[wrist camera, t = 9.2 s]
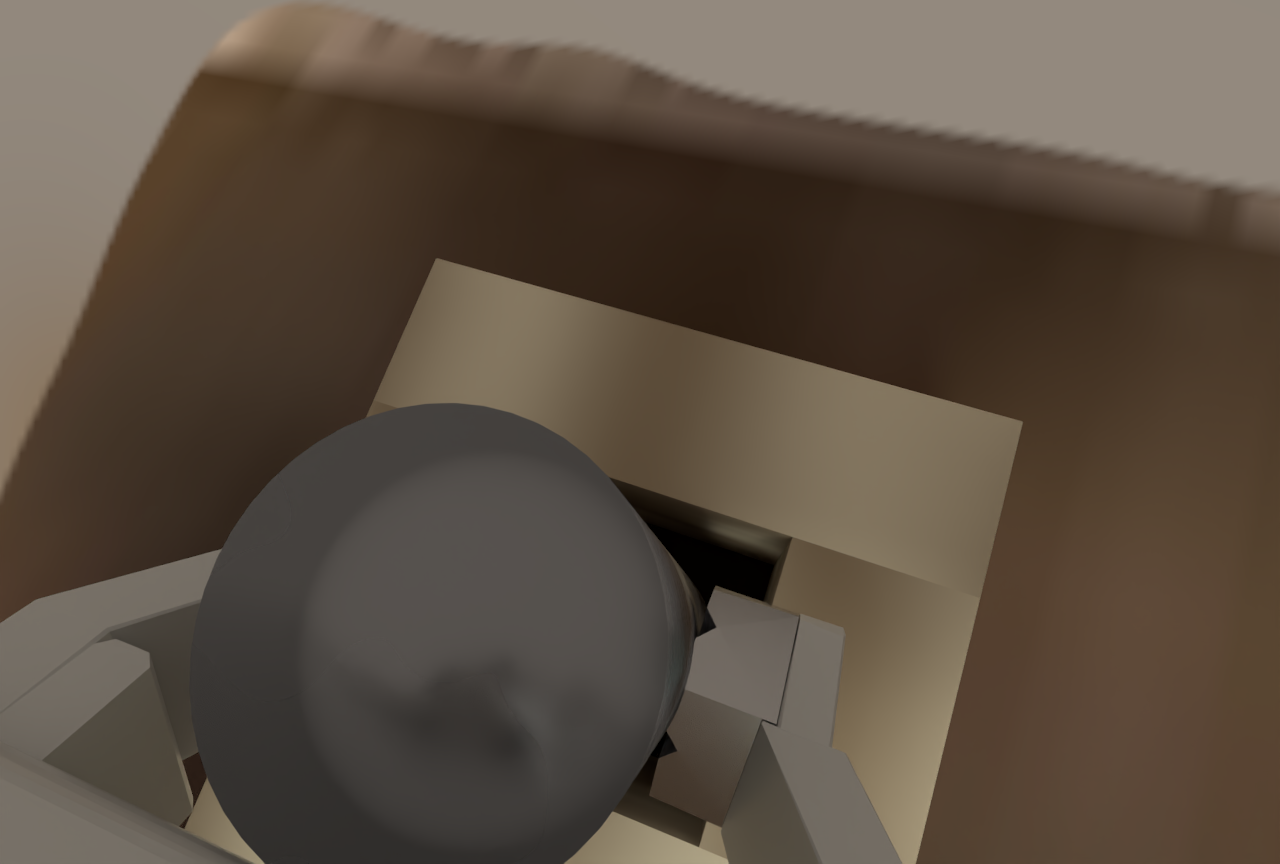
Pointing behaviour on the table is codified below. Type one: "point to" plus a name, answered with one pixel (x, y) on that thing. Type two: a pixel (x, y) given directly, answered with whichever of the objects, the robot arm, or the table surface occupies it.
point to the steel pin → (436, 647)
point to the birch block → (744, 509)
